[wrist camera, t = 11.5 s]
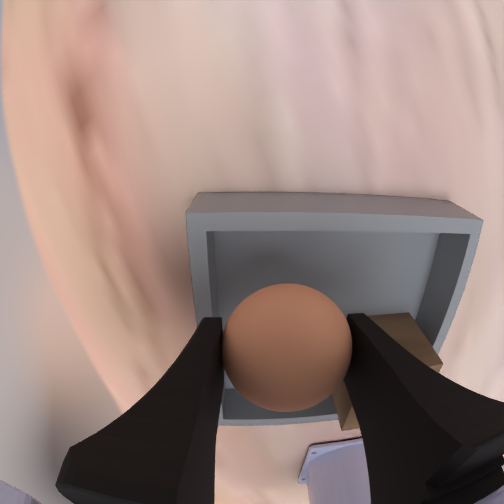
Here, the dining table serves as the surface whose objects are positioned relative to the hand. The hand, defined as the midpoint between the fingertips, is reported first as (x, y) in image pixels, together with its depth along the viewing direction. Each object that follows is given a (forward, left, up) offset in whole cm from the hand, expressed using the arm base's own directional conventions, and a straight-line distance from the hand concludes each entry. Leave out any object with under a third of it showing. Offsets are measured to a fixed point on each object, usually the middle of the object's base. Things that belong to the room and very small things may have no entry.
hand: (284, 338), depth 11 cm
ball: (0, 0, -2) cm, 2 cm away
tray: (-3, -3, -5) cm, 6 cm away
